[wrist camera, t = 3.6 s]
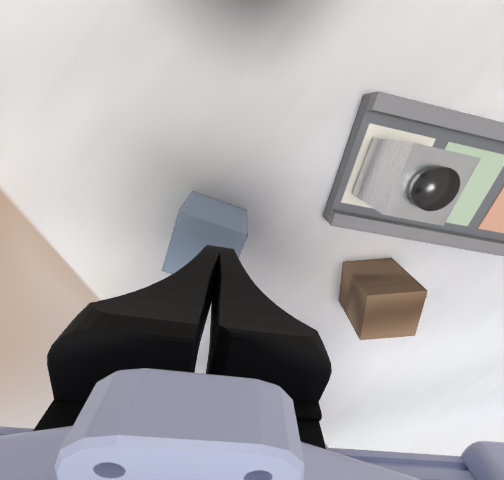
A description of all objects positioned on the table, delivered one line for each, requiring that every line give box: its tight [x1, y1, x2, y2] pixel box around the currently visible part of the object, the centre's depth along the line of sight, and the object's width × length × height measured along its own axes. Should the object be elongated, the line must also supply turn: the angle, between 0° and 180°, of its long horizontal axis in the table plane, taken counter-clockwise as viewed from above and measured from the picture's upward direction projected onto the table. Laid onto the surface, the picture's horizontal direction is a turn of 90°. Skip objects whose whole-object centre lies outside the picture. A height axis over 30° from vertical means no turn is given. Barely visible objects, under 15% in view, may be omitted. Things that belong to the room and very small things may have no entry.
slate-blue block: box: [162, 191, 248, 274], centre depth 19 cm, size 4×4×5 cm
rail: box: [323, 92, 504, 256], centre depth 19 cm, size 9×18×2 cm, turn 79°
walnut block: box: [339, 258, 427, 340], centre depth 22 cm, size 4×4×5 cm
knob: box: [352, 138, 481, 226], centre depth 16 cm, size 4×4×5 cm
